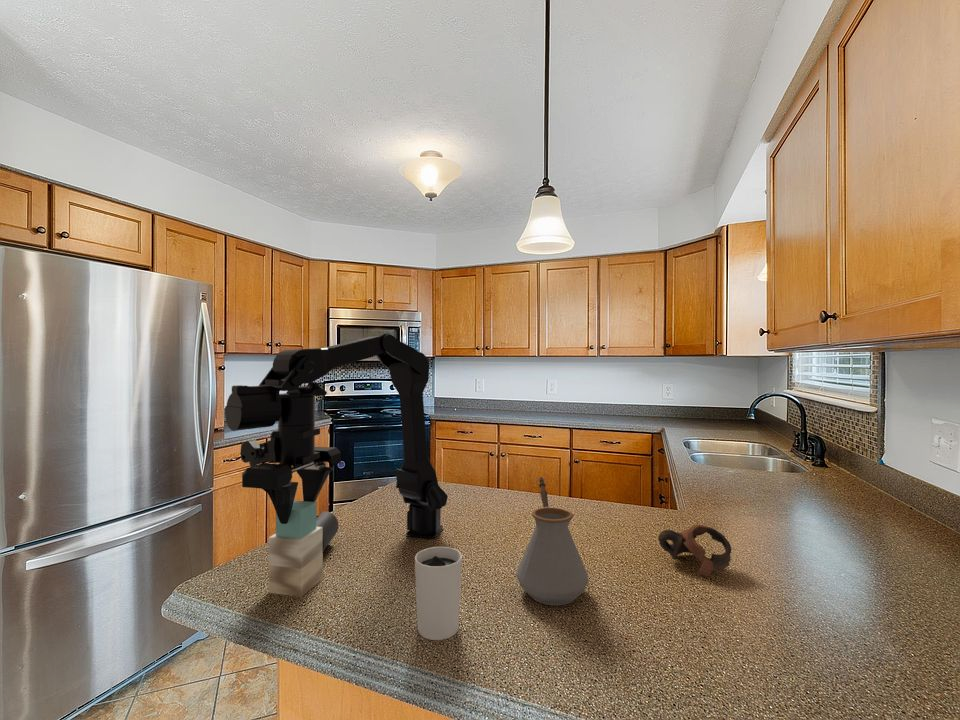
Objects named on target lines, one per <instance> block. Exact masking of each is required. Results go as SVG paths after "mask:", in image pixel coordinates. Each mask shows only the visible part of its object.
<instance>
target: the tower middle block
mask: <svg viewBox="0 0 960 720" xmlns="http://www.w3.org/2000/svg"><path fill="white" fill-rule="evenodd" d="M323 552H324V551H323V527H316V529H315V530H313V531H312V532H310V533H308V534H307V535H305V536H304V537H302V538H290V537H280V536H276V533H274V534H272V535H271V536H269V537H268V566H269V565H272V566H280V567H289V568H297V569H302V568H303V567H304V566H306V565H307V564H308V563H310V562H311V561H313V560H314V559H315V558H317V557H318V556H319V555H321V554H322V553H323ZM323 554H324V553H323Z"/></svg>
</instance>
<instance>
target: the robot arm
mask: <svg viewBox="0 0 960 720" xmlns="http://www.w3.org/2000/svg"><path fill="white" fill-rule="evenodd" d="M373 357H376V358H377V360H378V361H379V363H380V364H381V365H383V367H385V368H387V370H388V371H389V375H390V380H391V383H392V385H393V387H394V388H395V390H396V391H397V393H398V395H399V404H400V406H399V407H400V418H401V428H402V429H401V431H402V432H401V433H402V441H403V442H402V443H403V445H402V446H403V455H404V461H403V463H402V464H401V467H400V468H399V469H398V468H397V469H396V470H395V473H394V474H395V477H396V478H395V479H396V485H395V488H397V489H398V492H399V494H400V495H401V496H402V499H403V503H404V504H409V507H408V511H407V512H406V530H407V532H406V533H405V535H406V537H411V538H412V537H413V538H415V537H416V538H426V539H435V538H436V537H437V536H438V535H439V534H440V532H441V531H442V530H443V529H444V525H442V523H441V513H442V512H441V509H443V507H444V506H446V505H447V501H448V497H449V496H448V495H449V494H447V493H446V492H445V491H444V490H443V488H442V487H440V485H439V481H438V477H437V472H436V470H435V468H434V466H433V465H432V463H431V461H430V459H429V456H428V446H427V445H428V444H427V430H426V420H425V419H426V418H425V407H424V406H425V404H424V392H425V389H426V387H427V384H428V383H429V379H430V361H429V358H428V356H426V355H425V354H424V353H423V352H422V351H421V352H420V351H418V350H416V349H415V348H414V347H412V346H411V345H408V344H406V343H404V342H402V341H401V340H399V339H398V338H396V337H395V336H394V335H393V334H390V333H374V334H372V335H370V336H367V337H363V338H362V337H361V338H359V339H355V340H349V341H346V342H341V343H339V344H334V345H329V346H327V347H321V348H320V347H315V348H300V349H299V348H295V349H284V350H283V349H282V350H280V351H279V352H278V353H276V355H275V357H274V358H273V363H272V367H271V368H270V370H269V371H268V372H267V374H266V375H265V377H264V378H263V379H262V380H261V382H260V383H259V384H258V385H252V386H249V385H242V384H241V385H239V384H238V385H232V386H231V393H230V394H229V395H228V398H227V400H226V401H227V402H226V405H225V406H224V417H225V422H226V425H227V427H228V428H229V429H230V431H233V432H236V431H243V430H252V429H263V428H269V427H273V426H274V425H275V423H276V422H277V430H272V431H271V433H270V440H268V441H265V442H262V443H260V442H259V441H257V440H256V439H252V440H249V441H246V442H243V443H241V444H240V453H239V454H240V459H241V461H242V462H243V463H249V467H247V468H245V470H244V471H243V472H242V474H241V487H242V488H247V489H248V488H251V489H261V490H263V491H264V492H265V493H266V494H267V495H268V497H269V498H270V500H271V503H272V505H273V508H274V510H275V514H276V513H277V516H278V518H279V521H280V523H281V524H287V523H288V520H289V517H290V514H291V510H292V506H293V502H294V501H295V497H296V493H297V491H298V490H297V489H298V485H299V482H298V481H297V482H296V481H292V479H293V473H295V472H296V474H298V476H299V478H300V479H301V485H302V487H301V488H302V501H307V502H316V501H317V499H318V498H319V495H320V492H321V490H322V489H323V487H324V484H325V483H326V480H327V479H328V477H329V475H330V473H331V472H332V471H333V470H334V468H333V467H332V466H336V465H338V464H341V463H342V461H341V460H342V452H341V451H340V450H339V449H338V448H337V447H335V446H332V447H331V446H316V444H315V442H316V436H318V435H321V428H320V427H316V423H315V422H316V419H315V418H316V412H315V411H316V409H315V408H316V407H315V405H316V404H315V403H316V401H315V400H316V398H315V397H319V396H320V397H321V396H327V394H328V391H327V390H325V388H322V387H321V386H320V385H319V383H318V381H317V380H319V379H321V378H323V377H325V376H326V375H328V374H329V373H331V371H333V370H335V369H336V368H339V367H343V366H345V365H349V364H352V363H355V362H360V361H363V360H365V359H370V358H373ZM303 384H306V385H304V386H302V385H303ZM280 392H286V393H280ZM327 463H328V464H329V465H330V466H327Z"/></svg>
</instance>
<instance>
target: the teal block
mask: <svg viewBox="0 0 960 720" xmlns="http://www.w3.org/2000/svg"><path fill="white" fill-rule="evenodd" d="M316 516H317V502H316V501H315V502H307V501H303V500H294V502H293V506H292V510H291V514H290V517H289V520H288V523H287V524H281V523H280V521H279V518H278V516H277V513H276V512H275V534H276V536H280V537H290V538H302V537H304V536H305V535H307V534H308V533H310V532H312V531H313V530H315V529H316Z"/></svg>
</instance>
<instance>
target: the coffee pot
mask: <svg viewBox="0 0 960 720" xmlns="http://www.w3.org/2000/svg"><path fill="white" fill-rule="evenodd" d="M537 481H539V484H538V483H537ZM535 484H536V485H537V486H538V487H539V488H540V491H539V493H540V499H541V502H542V506H543V507H540V508H537V509H534V510H533V511H532V513H531V516H532V518H534V521H535V527H534V529H533V531H532V535H531V537H530V539H529V541H528V544H527V545H526V548H525V550H524V554H523V556H522V558H521V561H520V562H519V565H518V566H517V567H518V568H517V570H516V571H517V572H516V579H517V580H518V584H519V585H520V587H521V588H522V589H523V590H524V592H526V594H527V595H528V596H529V597H530V598H531V599H533V600H535V602H537V603H540V604H543V605H546V606H547V605H549V606H564V605H568V604H570V603H572V602H574V601H575V600H576V598H579V596H581V594H583V593H584V592H585V591H586V588H587V586H588V583H589V577H588V576H589V575H588V573H587V570H586V568H585V564H584V562H583V560H582V557H581V555H580V554H579V551H578V548H577V547H576V543H575V541H574V539H573V537H572V534H571V530H570V529H569V525H570V523H571V521H572V519H573V518H574V516H575V514H574V513H573V512H571V511H569V510H566V509H563V508H560V507H559V508H558V507H549V499H548V492H547V490H546V485H547V484H548V480H547V479H546V478H543V477H542V476H540V477H539V478H537V479H535Z"/></svg>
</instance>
